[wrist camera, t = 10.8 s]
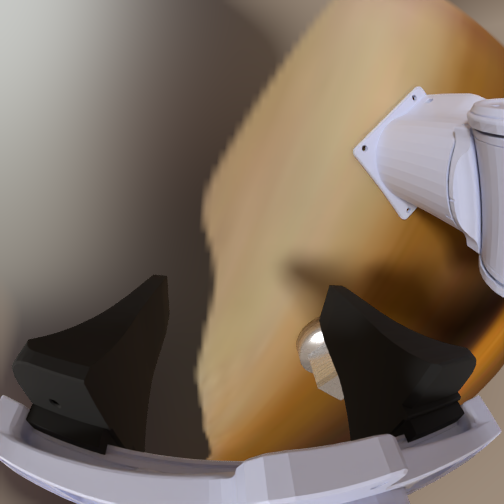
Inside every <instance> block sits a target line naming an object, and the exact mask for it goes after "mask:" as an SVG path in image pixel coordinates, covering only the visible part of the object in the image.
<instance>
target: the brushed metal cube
mask: <svg viewBox="0 0 504 504" xmlns="http://www.w3.org/2000/svg"><path fill="white" fill-rule="evenodd" d="M308 357H309V361H310V364H311V367H312V370H313V373H314V377H315V380H316V383H317V386H318V388H319V389H321V390H322V391H324V392H326V393H328V394H330V395H332V396H333V397H335V398H337V399H339V400H342V399H343V398H344V396H343V392H342V387H341V383H340V380H339V377H338V374H337V372H336V369H335V367H334V364H333V362H332V359H331V357H330V354H329V352H328V349H327V347H326V344H325V343H324V344H322V345H321V346H320V347H318V348H317V349H316V350H314V351H313V352H311V353H310V354H308Z"/></svg>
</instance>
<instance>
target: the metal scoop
mask: <svg viewBox="0 0 504 504" xmlns="http://www.w3.org/2000/svg"><path fill="white" fill-rule="evenodd" d="M319 319H320V317H318V318H316V319H314V320H313V321H311V322H310V323H309V324H307V325H306V326H305V327H304V328H303V330H302V331H301V332H300V334H299V336H298V339H297V344H296V346H297V351H298V354H299V358H300V361H301V364H302V366H303V367H304V368H305V369H306V370H307V371H309V372H311V373H313V370H312V367H311V364H310V361H309V357H308V354H310V353H311V352H313V351H314V350H316V349H317V348H318V347H320V346H321V345H322V344H324V343H325V342H324V339H323V335H322V331H321V327H320V322H319Z"/></svg>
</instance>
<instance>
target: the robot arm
mask: <svg viewBox="0 0 504 504" xmlns="http://www.w3.org/2000/svg"><path fill="white" fill-rule="evenodd" d="M412 96H413V97H414V100H413V99H412ZM363 145H364V146H365V151H362V146H363ZM353 155H354V156H355V158H356V159H357V160H358V161H359V162H360V164H361V165H362V166H363V167H364V169H365V170H366V171H367V173H368V174H369V175H370V176H371V178H372V179H373V180H374V182H375V183H376V184H377V186H378V187H379V188H380V190H381V191H382V192H383V194H384V195H385V196H386V198H387V199H388V201H389V202H390V203H391V205H392V206H393V208H394V209H395V211H396V212H397V214H398V215H399V217H400V218H402V219H407V218H408V217H409V216H410V215H411V214H412V213H413V211H414V210H415V209H416V208H417V207H419V208H421V209H423V210H424V211H426V212H428V213H430V214H432V215H434V216H435V217H437V218H439V219H441V220H443V221H444V222H446V223H448V224H450V225H451V226H453V227H455V228H456V229H458V230H460V231H461V232H463V233H464V234H465V236H466V240H467V246H468V247H470V248H471V249H473V250H474V251H476V252H477V253H479V269H480V273H481V275H482V277H483V279H484V281H485V282H486V283H487V285H488V286H489V287H490V288H491V289H492V290H493V291H495V292H496V293H497V294H499V295H500V296H502V297H504V98H497V99H487V100H486V99H484V98H482V97H480V96H478V95H475V94H432V95H426V93H425V92H424V90H423V89H422V88H421V87H415V88H414V89H413V90H412V91H411V92H410V93H409V94H408V95H407V96H406V97H405V98H404V99H403V100H402V101H401V102H400V103H399V104H398V105H397V106H396V107H395V108H394V109H393V110H392V111H391V112H390V113H389V114H388V115H387V116H386V117H385V118H384V119H383V120H382V121H381V122H380V123H379V124H378V125H377V126H376V127H375V128H374V129H373V130H372V131H371V132H370V133H369V134H368V135H367V136H366V137H365V138H364V139H363V140H362V141H361V142H360V143H359V144H358V145H357V146H356V147H355V148H354V149H353ZM407 208H409V210H408V211H407ZM168 320H169V300H168V283H167V276H163V275H153V276H151V277H150V278H149V279H148V280H146V281H145V282H144V283H143V284H141V285H140V286H139V287H138V288H137V289H135V290H134V291H133V292H131V293H130V294H129V295H128V296H126V297H125V298H123V299H122V300H121V301H119V302H118V303H116V304H115V305H114V306H112V307H111V308H109V309H108V310H106V311H104V312H103V313H101V314H99V315H97V316H95V317H94V318H92V319H89V320H88V321H85V322H83V323H81V324H79V325H77V326H74V327H72V328H69V329H67V330H64V331H61V332H58V333H54V334H51V335H47V336H43V337H38V338H34V339H29V340H28V341H27V343H26V344H25V346H24V347H23V349H22V350H21V352H20V353H19V355H18V356H17V358H16V359H15V361H14V363H13V366H12V369H13V372H14V376H15V378H16V380H17V382H18V383H19V385H20V386H21V388H22V389H23V391H24V392H25V394H26V395H27V396H28V398H29V399H30V400H31V402H32V403H33V404H32V406H31V409H30V410H29V409H28V408H27V407H25V406H24V405H23V404H21V403H19V402H17V401H15V400H13V399H11V398H9V397H7V396H5V395H2V397H1V399H0V461H1V462H3V463H4V464H5V465H7V466H8V467H9V468H11V469H12V470H13V471H15V472H16V473H18V474H19V475H21V476H23V477H24V478H26V479H28V480H30V481H31V482H33V483H35V484H37V485H39V486H41V487H43V488H44V489H46V490H48V491H50V492H52V493H54V494H57V495H59V496H61V497H63V498H65V499H67V500H70V501H72V502H75V503H77V504H410V502H409V499H408V496H407V495H409V494H411V493H413V492H415V491H417V490H419V489H421V488H423V487H425V486H427V485H429V484H430V483H432V482H434V481H436V480H438V479H439V478H441V477H443V476H445V475H446V474H448V473H450V472H451V471H453V470H455V469H456V468H458V467H459V466H461V465H462V464H464V463H466V462H467V461H468V460H470V459H471V458H472V457H474V456H475V455H476V454H477V453H479V452H480V451H481V450H482V449H483V448H484V447H486V446H487V445H488V444H489V443H490V442H491V441H493V440H494V439H495V438H496V437H497V436H498V435H499V434H500V433H501V429H500V428H499V426H498V424H497V423H496V421H495V419H494V418H493V416H492V414H491V413H490V411H489V409H488V408H487V406H486V405H485V403H484V402H483V400H482V398H481V397H480V396H476V397H474V398H472V399H470V400H468V401H466V402H465V403H463V404H462V405H461V406H460V404H459V403H458V401H459V400H460V398H461V396H460V394H459V393H458V391H459V390H460V389H461V387H462V386H463V385H464V383H465V382H466V381H467V380H468V378H469V377H470V375H471V374H472V372H473V370H474V368H475V366H476V358H475V357H474V355H473V354H472V353H471V352H470V350H468V349H467V348H464V347H460V346H455V345H451V344H447V343H444V342H440V341H437V340H434V339H431V338H429V337H426V336H424V335H421V334H419V333H417V332H414V331H412V330H410V329H408V328H406V327H404V326H403V325H401V324H399V323H397V322H395V321H394V320H392V319H390V318H389V317H387V316H386V315H384V314H382V313H381V312H379V311H378V310H377V309H375V308H374V307H372V306H371V305H369V304H368V303H367V302H365V301H364V300H362V299H361V298H360V297H358V296H357V295H355V294H354V293H353V292H351V291H350V290H348V289H346V288H345V287H343V286H335V285H330V286H329V289H328V293H327V296H326V300H325V303H324V306H323V310H322V313H321V316H320V319H319V322H320V327H321V331H322V335H323V339H324V342H325V344H326V347H327V349H328V352H329V354H330V357H331V359H332V362H333V364H334V367H335V369H336V372H337V374H338V377H339V380H340V383H341V387H342V392H343V396H344V400H345V405H346V410H347V415H348V422H349V429H350V438H351V441H349V442H344V443H338V444H333V445H327V446H320V447H313V448H306V449H297V450H286V451H280V452H274V453H267V454H262V455H259V456H256V457H253V458H249V459H247V460H246V461H212V460H195V459H186V458H176V457H169V456H162V455H154V454H149V453H144V451H145V431H146V419H147V411H148V403H149V395H150V389H151V383H152V378H153V374H154V370H155V366H156V363H157V360H158V357H159V354H160V351H161V347H162V344H163V341H164V338H165V335H166V330H167V325H168Z"/></svg>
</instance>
